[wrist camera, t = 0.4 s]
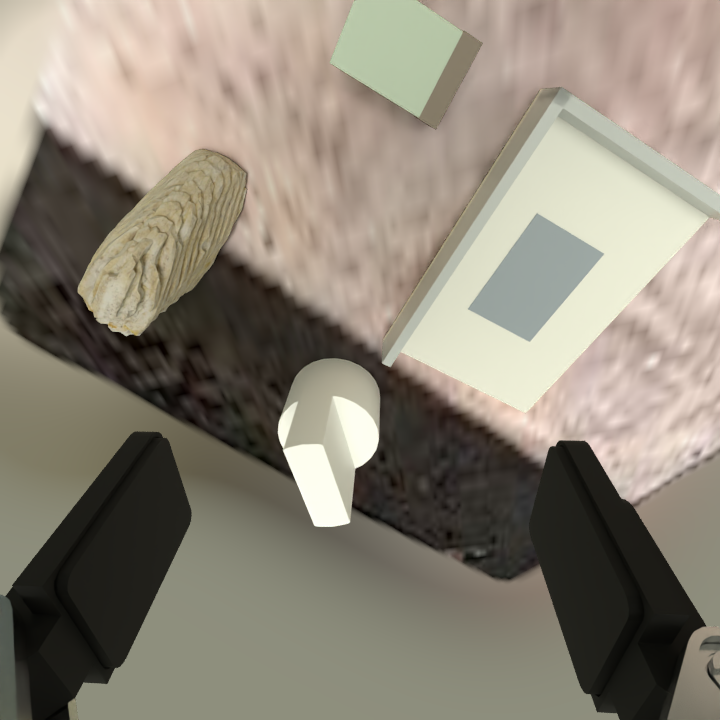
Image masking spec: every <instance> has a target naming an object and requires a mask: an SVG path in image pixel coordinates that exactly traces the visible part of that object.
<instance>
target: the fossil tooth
mask: <svg viewBox="0 0 720 720" xmlns="http://www.w3.org/2000/svg"><path fill="white" fill-rule="evenodd" d="M245 184H246V173H245V172H244V171H243V170H242V169H241V168H240V167H239V166H238V165H237V164H235V163H234V162H232V161H231V160H230V159H228V158H227V157H225V156H222V155H220V154H219V153H213V152H211V151H209V150H205V149H202V150H200V149H199V150H196V151H194V152H193V153H191V154H190V155H189V156H188V157H187V158H185V159H184V160H183V161H182V162H180V163H179V164H178V165H177V166H175V168H174V169H173V170H172V171H171V172H170V173H169V174H168V175H167V176H166V177H164V178H163V179H162V180H161V181H160V182H159V183H158V184H157V185H156V186H155V187H154V188H153V189H152V190H151V191H149V192H148V193H147V194H146V196H145V197H144V198H143V199H142V200H141V201H140V202H139V203H138V204H137V205H136V206H135V207H134V209H133V210H132V211H130V212H129V213H128V214H127V215H126V216H125V217H124V218H123V219H122V220H121V221H120V222H119V223H118V225H117V226H116V228H115V229H113V230H112V231H111V232H110V233H109V235H108V236H107V238H106V239H105V240H104V242H103V243H102V245H101V246H100V247H99V249H98V250H97V251H96V253H95V254H94V256H93V258H92V260H91V262H90V264H89V265H88V268H87V270H86V272H85V274H84V277H83V279H82V280H81V282H80V284H79V286H78V293H79V294H80V295H81V296H82V297H83V298H84V301H85V303H86V304H87V307H88V309H89V310H90V311H92V312H94V317H97V319H96V320H97V321H98V322H100V323H104V324H108V327H109V328H110V329H111V330H112V331H113V332H121V333H123V334H124V335H125V336H128V335H130V334H135V335H136V336H139V335H140V334H141V333H142V332H143V331H144V330H145V329H146V328H147V327H148V326H149V325H150V323H151V322H152V321H154V320H155V319H156V318H157V317H158V315H159V313H161V312H165V311H166V309H167V308H168V306H170V305H171V304H172V303H175V302H177V301H178V299H179V297H180V296H182V295H184V293H187V292H189V291H191V290H192V289H193V288H194V287H195V286H196V285H197V284H198V282H199V281H200V279H201V278H202V277H203V275H204V274H205V273H206V272H207V270H209V269H210V267H211V266H212V264H213V263H214V261H215V258H216V256H217V254H218V252H219V250H220V249H221V247H222V246H223V244H224V243H225V242H226V241H227V239H228V236H229V235H230V232H231V230H232V227H233V224H234V223H235V222H236V220H237V218H238V216H239V214H240V212H241V211H242V207H243V202H244V198H245V195H246V192H247V189H246V188H245Z"/></svg>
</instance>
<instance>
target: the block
mask: <svg viewBox="0 0 720 720" xmlns="http://www.w3.org/2000/svg"><path fill="white" fill-rule="evenodd" d="M482 44H483V43H482V42H480V41H479V40H477V39H476V38H474V37H473V36H471V35H470V34H468V33H467V32H465V31H461V30H460V29H458V28H457V27H455V26H454V25H452V24H451V23H449V22H448V21H446V20H445V19H444V18H442V17H441V16H439V15H438V14H436V13H435V12H433V11H432V10H430V9H429V8H427V7H426V6H424V5H423V4H421V3H420V2H418V1H417V0H354V2H353V5H352V7H351V10H350V12H349V15H348V17H347V20H346V22H345V25H344V27H343V30H342V33H341V35H340V38H339V40H338V43H337V45H336V48H335V50H334V53H333V55H332V58H331V60H330V63H331V64H332V65H334V66H335V67H337V68H338V69H340V70H341V71H343V72H344V73H346V74H348V75H349V76H351V77H353V78H354V79H356V80H357V81H359V82H361V83H362V84H364V85H366V86H367V87H369V88H370V89H372V90H374V91H375V92H377V93H379V94H380V95H382V96H383V97H385V98H387V99H388V100H390V101H392V102H393V103H395V104H396V105H398V106H400V107H401V108H403V109H405V110H406V111H408V112H409V113H411V114H413V115H414V117H416V118H418V119H419V120H421V121H422V122H424V123H426V124H427V125H429V126H431V127H433V128H434V129H437V127H438V125H439V123H440V121H441V120H442V118H443V116H444V114H445V112H446V110H447V108H448V107H449V105H450V103H451V101H452V99H453V97H454V96H455V94H456V92H457V90H458V88H459V86H460V84H461V83H462V81H463V79H464V77H465V75H466V73H467V72H468V70H469V68H470V66H471V64H472V62H473V60H474V59H475V57H476V55H477V53H478V51H479V49H480V47H481V46H482Z"/></svg>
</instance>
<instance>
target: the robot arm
mask: <svg viewBox="0 0 720 720" xmlns="http://www.w3.org/2000/svg"><path fill="white" fill-rule="evenodd" d="M190 522H191V508H190V505H189V502H188V499H187V496H186V493H185V490H184V487H183V484H182V480H181V478H180V474H179V471H178V468H177V465H176V462H175V459H174V456H173V453H172V450H171V446H170V443H169V441H168V440H167V439H166V438H163V437H162V435H161V434H160V433H159V432H134V433H132V434H131V435H130V436H129V438H128V439H127V440H126V441H125V443H124V444H123V445H122V446H121V448H120V449H119V450H118V451H117V453H116V454H115V455H114V456H113V458H112V459H111V460H110V462H109V463H108V464H107V465H106V467H105V468H104V469H103V470H102V472H101V473H100V474H99V476H98V477H97V478H96V479H95V481H94V482H93V483H92V485H91V486H90V487H89V488H88V490H87V491H86V492H85V493H84V495H83V496H82V497H81V499H80V500H79V501H78V502H77V504H76V505H75V506H74V507H73V509H72V510H71V511H70V513H69V514H68V515H67V516H66V518H65V519H64V520H63V521H62V523H61V524H60V525H59V526H58V528H57V529H56V530H55V532H54V533H53V534H52V535H51V537H50V538H49V539H48V540H47V542H46V543H45V544H44V545H43V547H42V548H41V549H40V551H39V552H38V553H37V554H36V556H35V557H34V558H33V559H32V561H31V562H30V563H29V564H28V566H27V567H26V568H25V570H24V571H23V572H22V573H21V575H20V576H19V577H18V578H17V580H16V581H15V582H14V584H13V585H12V586H13V587H12V588H11V590H10V591H9V592H8V594H7V595H6V596H3V595H0V720H79V719H78V712H77V706H76V699H75V697H76V695H77V693H78V691H79V689H80V688H81V686H82V684H83V682H85V683H102V684H107V683H108V681H109V679H110V677H111V675H112V673H113V671H114V669H115V668H118V667H120V666H121V665H122V664H123V662H124V661H125V659H126V657H127V655H128V653H129V651H130V649H131V646H132V645H133V643H134V640H135V638H136V636H137V634H138V632H139V630H140V628H141V626H142V624H143V622H144V619H145V617H146V615H147V613H148V611H149V609H150V607H151V605H152V603H153V600H154V598H155V596H156V594H157V592H158V590H159V588H160V586H161V584H162V582H163V580H164V577H165V575H166V573H167V571H168V569H169V567H170V565H171V563H172V561H173V559H174V556H175V554H176V552H177V550H178V548H179V546H180V544H181V542H182V540H183V538H184V535H185V533H186V531H187V529H188V527H189V525H190ZM529 530H530V536H531V539H532V542H533V545H534V548H535V551H536V554H537V557H538V560H539V563H540V566H541V569H542V572H543V575H544V578H545V581H546V584H547V587H548V590H549V593H550V596H551V599H552V602H553V605H554V609H555V612H556V615H557V617H558V620H559V624H560V626H561V630H562V632H563V636H564V639H565V642H566V645H567V648H568V651H569V654H570V656H571V660H572V663H573V666H574V669H575V672H576V675H577V678H578V681H579V683H580V686H581V688H582V690H583V691H584V692H585V693H586V694H591V696H592V698H593V701H594V704H595V707H596V710H597V712H604V713H617V714H618V716H619V719H620V720H720V627H717V626H713V627H707V626H706V625H705V623H704V621H703V620H702V618H701V616H700V615H699V613H698V612H697V610H696V608H695V607H694V605H693V603H692V602H691V600H690V599H689V597H688V596H687V594H686V592H685V590H684V589H683V587H682V586H681V584H680V582H679V581H678V579H677V577H676V576H675V574H674V572H673V571H672V569H671V568H670V566H669V564H668V563H667V561H666V559H665V558H664V556H663V555H662V553H661V551H660V550H659V548H658V546H657V545H656V543H655V541H654V540H653V538H652V536H651V535H650V533H649V532H648V530H647V528H646V527H645V525H644V523H643V522H642V520H641V519H640V517H639V515H638V514H637V512H636V510H635V509H634V508H633V506H632V505H631V504H630V503H629V502H628V501H626V500H625V499H621V498H620V496H619V494H618V492H617V491H616V489H615V487H614V486H613V484H612V482H611V481H610V479H609V477H608V476H607V474H606V472H605V471H604V469H603V467H602V466H601V464H600V462H599V461H598V459H597V457H596V455H595V454H594V452H593V450H592V449H591V447H590V445H589V444H588V443H587V442H585V441H563V440H561V441H559V442H558V443H557V445H556V447H555V446H552V447H550V448H549V451H548V454H547V458H546V462H545V465H544V469H543V473H542V477H541V480H540V484H539V488H538V492H537V495H536V499H535V503H534V507H533V510H532V514H531V518H530V523H529Z"/></svg>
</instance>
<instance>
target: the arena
mask: <svg viewBox="0 0 720 720" xmlns="http://www.w3.org/2000/svg"><path fill="white" fill-rule="evenodd" d="M709 217H711V218H714V219H717V220H720V195H719V194H718V193H716V192H715V191H713V190H712V189H710V188H709V187H707V186H706V185H704V184H703V183H702V182H700V181H699V180H697V179H696V178H694V177H693V176H691V175H690V174H688V173H687V172H685V171H684V170H683V169H681V168H680V167H678V166H677V165H675V164H674V163H672V162H671V161H669V160H668V159H666V158H665V157H663V156H662V155H661V154H659V153H658V152H656V151H655V150H653V149H652V148H650V147H649V146H647V145H646V144H644V143H643V142H641V141H640V140H639V139H637V138H636V137H634V136H633V135H631V134H630V133H628V132H627V131H625V130H624V129H622V128H621V127H619V126H618V125H617V124H615V123H614V122H612V121H611V120H609V119H608V118H606V117H605V116H603V115H602V114H600V113H599V112H597V111H596V110H595V109H593V108H592V107H590V106H589V105H587V104H586V103H584V102H583V101H581V100H580V99H578V98H577V97H575V96H574V95H573V94H571V93H570V92H568V91H567V90H565V89H564V88H562V87H556V88H546V89H540V91H539V93H538V94H537V96H536V97H535V99H534V101H533V102H532V104H531V105H530V107H529V108H528V110H527V112H526V113H525V115H524V116H523V118H522V120H521V121H520V123H519V124H518V126H517V128H516V129H515V131H514V132H513V134H512V135H511V137H510V139H509V140H508V142H507V143H506V145H505V147H504V148H503V150H502V151H501V153H500V155H499V156H498V158H497V159H496V161H495V162H494V164H493V166H492V167H491V169H490V170H489V172H488V174H487V175H486V177H485V178H484V180H483V182H482V183H481V185H480V186H479V188H478V189H477V191H476V193H475V194H474V196H473V197H472V199H471V201H470V202H469V204H468V205H467V207H466V209H465V210H464V212H463V213H462V215H461V216H460V218H459V220H458V221H457V223H456V224H455V226H454V228H453V229H452V231H451V232H450V234H449V236H448V237H447V239H446V240H445V242H444V243H443V245H442V247H441V248H440V250H439V251H438V253H437V255H436V256H435V258H434V259H433V261H432V263H431V264H430V266H429V267H428V269H427V270H426V272H425V274H424V275H423V277H422V278H421V280H420V282H419V283H418V285H417V286H416V288H415V290H414V291H413V293H412V294H411V296H410V297H409V299H408V301H407V302H406V304H405V305H404V307H403V309H402V310H401V312H400V313H399V315H398V317H397V318H396V320H395V321H394V323H393V324H392V326H391V328H390V329H389V331H388V332H387V334H386V336H385V337H384V339H383V346H382V363H383V364H385V365H387V366H389V367H391V365H392V364H393V362H394V361H395V359H396V358H397V356H398V355H399V353H400V352H402V353H404V354H406V355H408V356H410V357H412V358H414V359H416V360H418V361H420V362H422V363H424V364H426V365H428V366H430V367H432V368H434V369H436V370H438V371H440V372H442V373H444V374H447V375H449V376H451V377H453V378H455V379H457V380H459V381H461V382H463V383H465V384H467V385H469V386H471V387H473V388H475V389H477V390H479V391H481V392H483V393H485V394H487V395H489V396H491V397H493V398H495V399H497V400H500V401H502V402H504V403H506V404H508V405H510V406H512V407H514V408H516V409H518V410H520V411H522V412H524V413H526V412H527V411H528V410H529V409H530V408H531V407H532V406H533V405H534V404H535V403H536V402H537V401H538V400H539V399H540V398H541V396H542V395H543V394H544V393H545V392H546V391H547V390H548V389H549V388H550V387H551V386H552V385H553V384H554V383H555V382H556V380H557V379H558V378H559V377H560V376H561V375H562V374H563V373H564V372H565V371H566V370H567V369H568V368H569V367H570V366H571V364H572V363H573V362H574V361H575V360H576V359H577V358H578V357H579V356H580V355H581V354H582V353H583V352H584V351H585V350H586V348H587V347H588V346H589V345H590V344H591V343H592V342H593V341H594V340H595V339H596V338H597V337H598V336H599V335H600V334H601V332H602V331H603V330H604V329H605V328H606V327H607V326H608V325H609V324H610V323H611V322H612V321H613V320H614V319H615V318H616V316H617V315H618V314H619V313H620V312H621V311H622V310H623V309H624V308H625V307H626V306H627V305H628V304H629V303H630V302H631V300H632V299H633V298H634V297H635V296H636V295H637V294H638V293H639V292H640V291H641V290H642V289H643V288H644V287H645V286H646V284H647V283H648V282H649V281H650V280H651V279H652V278H653V277H654V276H655V275H656V274H657V273H658V272H659V271H660V270H661V268H662V267H663V266H664V265H665V264H666V263H667V262H668V261H669V260H670V259H671V258H672V257H673V256H674V255H675V254H676V253H677V251H678V250H679V249H680V248H681V247H682V246H683V245H684V244H685V243H686V242H687V241H688V240H689V239H690V238H691V237H692V235H693V234H694V233H695V232H696V231H697V230H698V229H699V228H700V227H701V226H702V225H703V224H704V223H705V222H706V221H707V219H708V218H709Z"/></svg>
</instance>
